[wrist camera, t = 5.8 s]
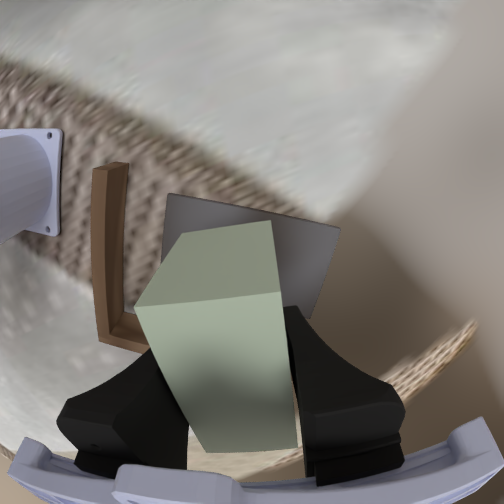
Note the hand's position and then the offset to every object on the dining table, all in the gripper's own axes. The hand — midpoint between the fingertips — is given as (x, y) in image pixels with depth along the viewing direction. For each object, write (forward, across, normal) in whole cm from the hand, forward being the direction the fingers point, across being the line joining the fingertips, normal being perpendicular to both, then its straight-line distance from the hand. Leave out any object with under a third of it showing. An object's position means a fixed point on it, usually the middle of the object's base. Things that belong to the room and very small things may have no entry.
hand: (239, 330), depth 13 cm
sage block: (+2, 0, 0) cm, 2 cm away
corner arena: (+7, +2, +1) cm, 8 cm away
